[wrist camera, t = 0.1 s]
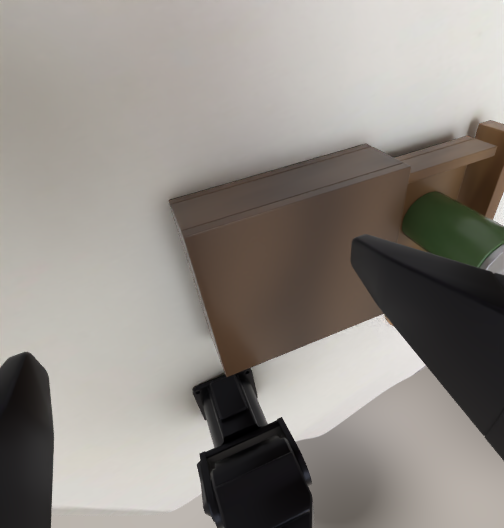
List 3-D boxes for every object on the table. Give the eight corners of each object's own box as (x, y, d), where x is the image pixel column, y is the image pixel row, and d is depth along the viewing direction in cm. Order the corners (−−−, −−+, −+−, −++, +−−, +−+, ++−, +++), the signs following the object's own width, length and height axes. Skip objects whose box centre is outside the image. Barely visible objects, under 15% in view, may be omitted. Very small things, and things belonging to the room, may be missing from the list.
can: (439, 229, 32) (518, 280, 26) (397, 244, 31) (470, 301, 25) (451, 184, 29) (544, 231, 23) (406, 199, 28) (490, 252, 22)
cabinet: (366, 143, 26) (411, 166, 22) (353, 281, 35) (384, 313, 31) (168, 199, 23) (183, 237, 19) (210, 335, 32) (226, 377, 28)
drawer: (523, 108, 29) (565, 119, 26) (477, 235, 37) (505, 253, 35) (333, 164, 25) (360, 182, 23) (329, 291, 34) (349, 315, 31)
